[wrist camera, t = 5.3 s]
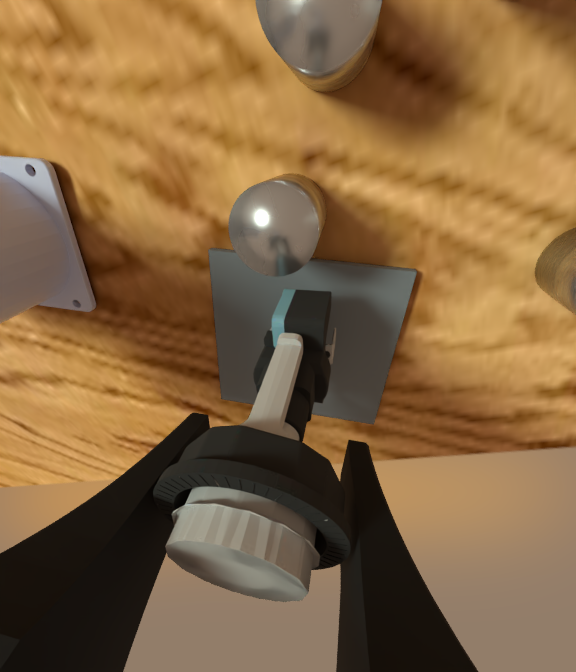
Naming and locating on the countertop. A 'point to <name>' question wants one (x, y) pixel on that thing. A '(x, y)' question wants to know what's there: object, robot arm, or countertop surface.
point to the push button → (264, 473)
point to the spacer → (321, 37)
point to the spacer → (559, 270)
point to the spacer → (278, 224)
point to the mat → (346, 316)
